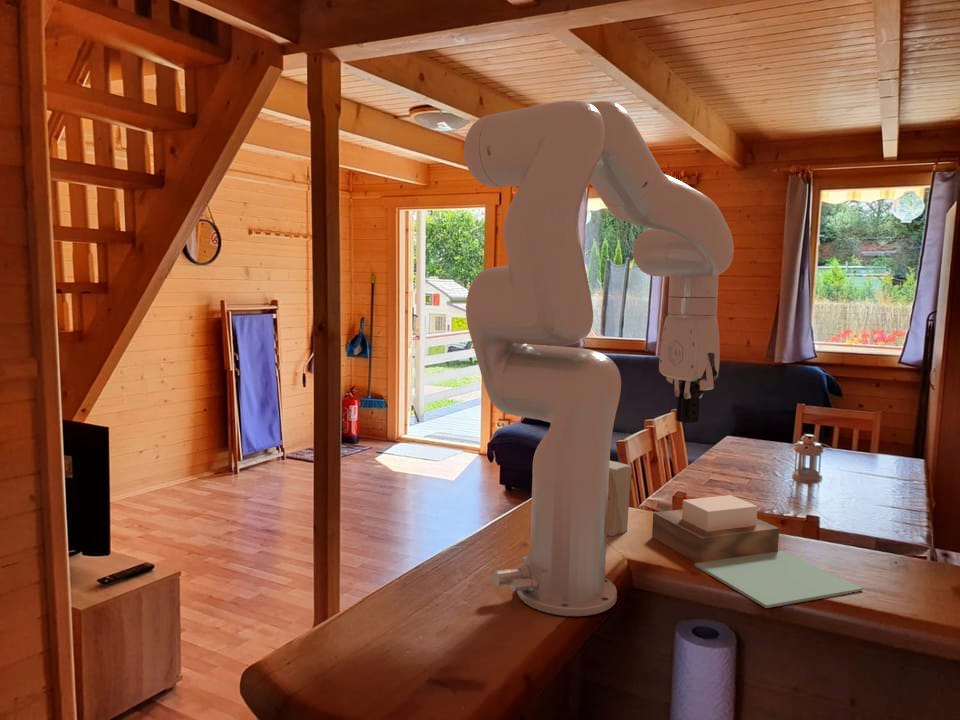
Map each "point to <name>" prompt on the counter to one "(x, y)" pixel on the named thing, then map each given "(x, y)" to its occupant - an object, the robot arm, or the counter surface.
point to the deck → (713, 538)
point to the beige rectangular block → (719, 513)
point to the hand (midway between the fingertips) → (687, 421)
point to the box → (618, 498)
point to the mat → (777, 578)
